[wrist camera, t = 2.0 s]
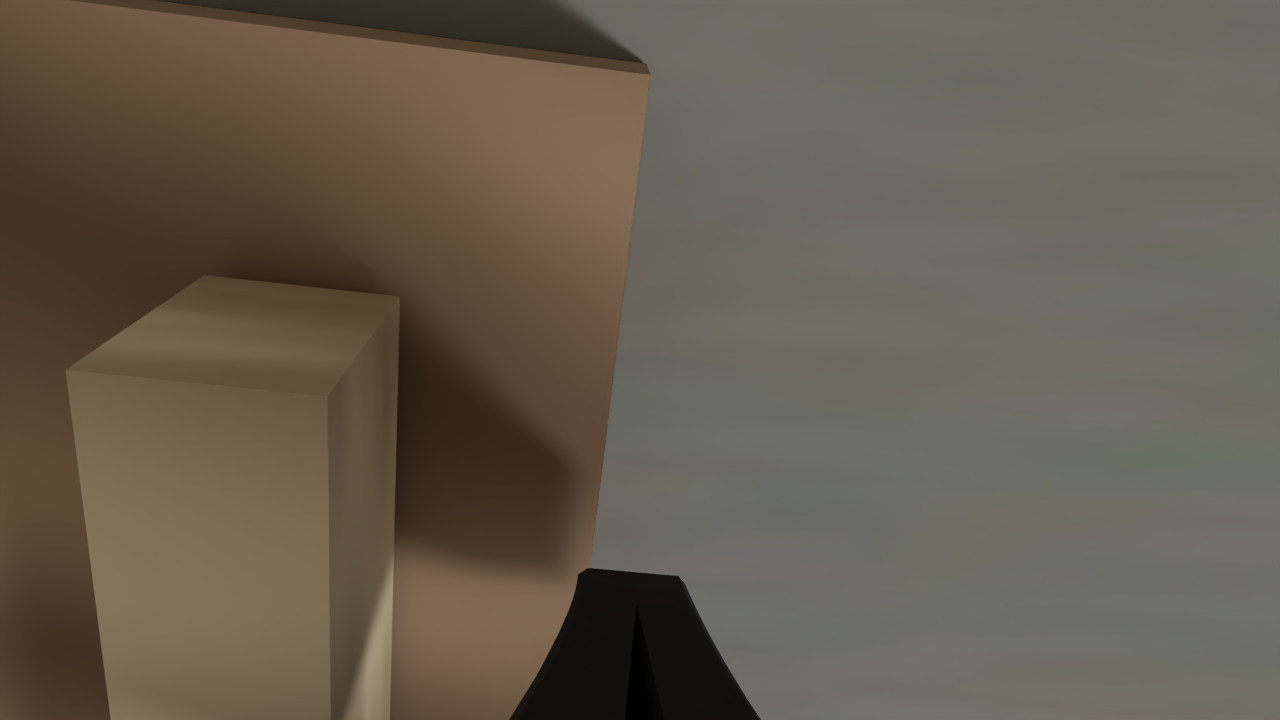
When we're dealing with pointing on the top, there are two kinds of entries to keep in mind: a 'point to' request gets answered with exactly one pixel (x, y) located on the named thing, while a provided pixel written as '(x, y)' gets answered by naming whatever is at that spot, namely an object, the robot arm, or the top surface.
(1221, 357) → the top surface
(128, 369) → the folding leg
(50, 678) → the stool seat
